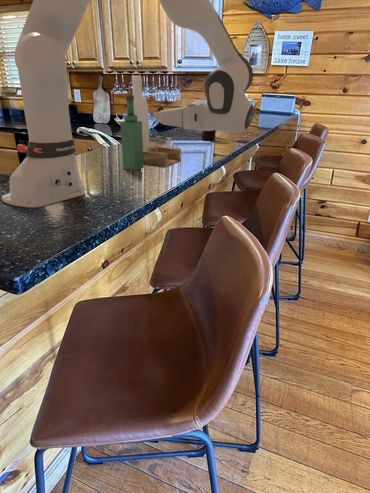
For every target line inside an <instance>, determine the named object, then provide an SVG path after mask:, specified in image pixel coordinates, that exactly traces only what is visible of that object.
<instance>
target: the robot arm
mask: <svg viewBox="0 0 370 493" xmlns="http://www.w3.org/2000/svg"><path fill="white" fill-rule="evenodd" d="M158 1H159V3H160V5H161V7H162V9H163V11H164V13H165V14H166V16H167V17H168V18H169V20H170V22H172V23H173V24H174V25H175V26H177V27H179V28H182V29H187V30H190V31H193V32H195V33H197V34H199V35H200V36H201V37H202V38H203V40H205V42H206V44H207V45H208V48H209V49H210V51H211V53H212V54H213V56H214V58H215V60H216V61H217V65H218V67H217V68H215V69H214V70H212V71H211V72H210V73H209V74H207V76H206V78H205V80H204V85H203V86H204V87H203V90H204V96H205V99H194V101H193V102H191V103H189V104H188V105H187V104H186V105H184V106H181V107H175V108H169V109H165V110H163V109H162V110H159V111H154V112H152V117H153V119H158V120H159V123H160V124H161V125H165V126H170V127H178V128H183V129H184V130H189V131H191V130H194V131H212V130H216V132H217V131H218V132H221V133H241V132H245V131H246V130H247V129H248V128H249V127H250V126H251V124H252V121H253V118H254V114H255V108H254V104H252V102H250V100H249V99H248V98H247V96H246V93H245V92H246V91H248V89H250V87H251V85H252V82H253V80H254V72H253V68H252V65H251V64H250V62H249V61H248V60H247V59H246V58H245V57H244V56H243V55H242V53H240V52H239V50H238V48H237V46H235V44H234V42H233V40H232V38H231V36H230V34H229V32H228V31H227V28H226V27H225V25H224V22H223V21H222V19H221V17H220V15H219V14H218V12H217V10H216V9H215V7H214V6H213V4H212V3H211V0H158ZM89 4H90V0H33V1H32V3H31V6H30V9H29V12H28V14H27V17H26V19H25V22H24V24H23V28H22V30H21V32H20V36H19V38H18V40H17V41H18V42H16V47H15V50H14V53H13V55H14V57H13V58H14V62H15V66H16V68H17V71H18V72H17V73H18V77H19V78H18V79H19V84H20V90H21V97H22V102H23V103H22V104H23V112H24V117H25V123H26V128H27V133H28V139H29V140H28V141H27V145H26V144H21V143H19V144H17V146H16V150H17V151H18V153H25V155H26V157H25V158H24V159H23V161H22V162H21V163H20V164H19V165H18V166H17V168H16V169H15V170H14V171H13V173H11V175H10V177H9V182H8V183H9V192H8V193H6V194H4V195H1V200H2V202H4V203H5V204H8V205H12V206H16V207H21V208H22V207H23V208H41V207H45V206H48V205H51V204H52V205H53V204H56V203H60V202H62V201H65V200H70V199H73V198H76V197H80V196H81V197H82V196H84V195H86V192H85V186H84V184H83V181H82V178H81V176H80V170H79V167H78V162H77V158H76V156H75V154H76V151H77V150H76V144H75V140H74V138H73V134H72V125H71V119H70V110H69V89H68V88H69V86H68V85H69V83H68V72H67V71H68V70H67V59H66V55H67V53H68V51H69V48H70V46H71V44H72V42H73V40H74V38H75V36H76V34H77V33H78V30H79V28H80V26H81V23H82V21H83V18H84V16H85V13H86V11H87V9H88V6H89Z"/></svg>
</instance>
